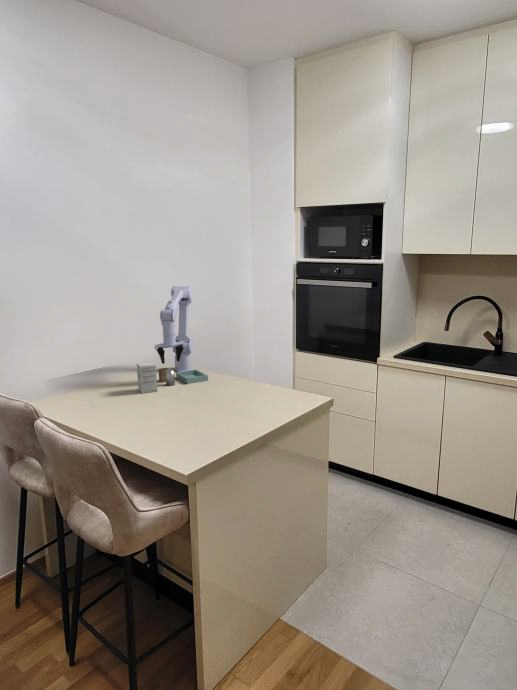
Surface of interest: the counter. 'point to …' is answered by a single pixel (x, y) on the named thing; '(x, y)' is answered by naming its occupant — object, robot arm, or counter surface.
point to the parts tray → (191, 376)
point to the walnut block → (162, 374)
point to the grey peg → (170, 377)
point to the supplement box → (147, 377)
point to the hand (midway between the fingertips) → (170, 362)
